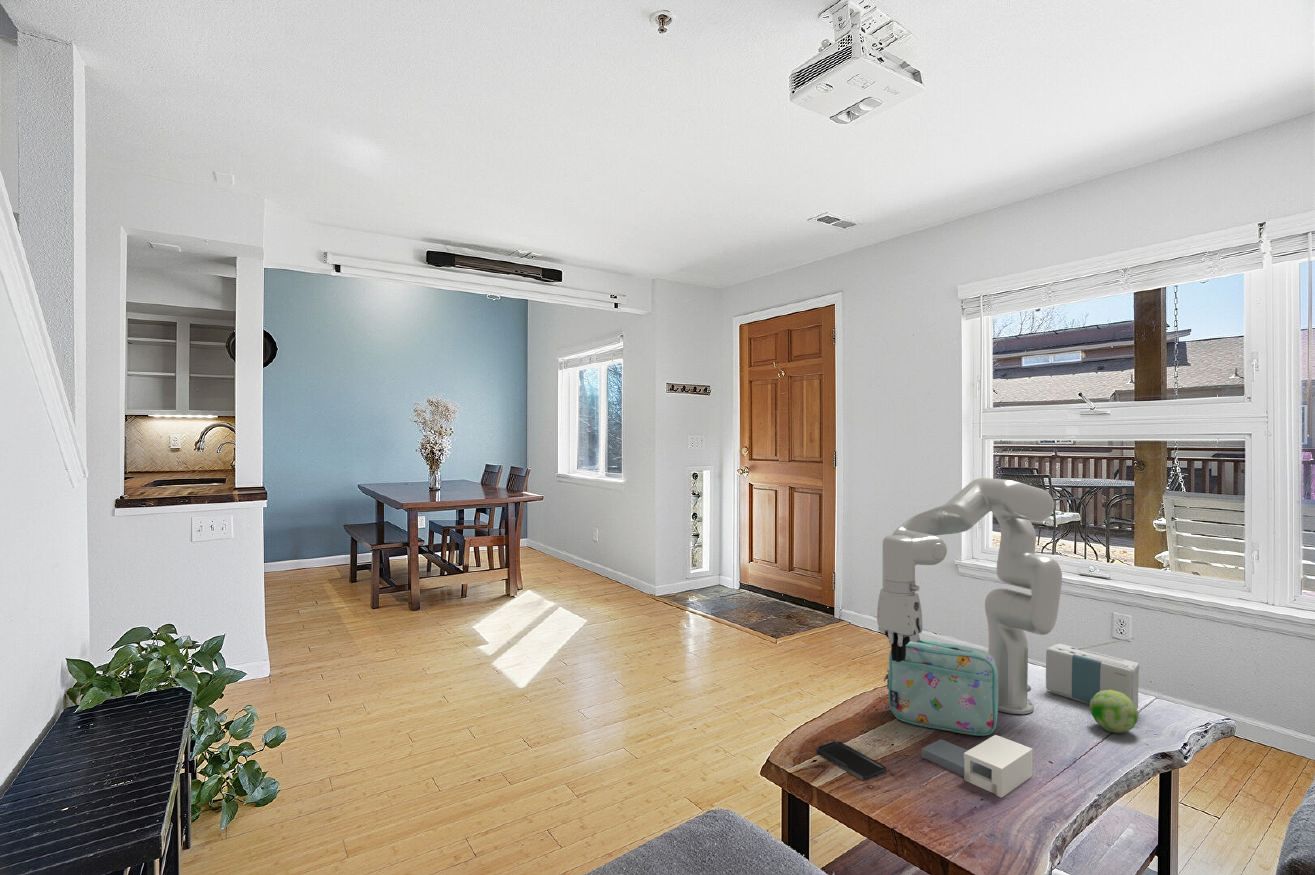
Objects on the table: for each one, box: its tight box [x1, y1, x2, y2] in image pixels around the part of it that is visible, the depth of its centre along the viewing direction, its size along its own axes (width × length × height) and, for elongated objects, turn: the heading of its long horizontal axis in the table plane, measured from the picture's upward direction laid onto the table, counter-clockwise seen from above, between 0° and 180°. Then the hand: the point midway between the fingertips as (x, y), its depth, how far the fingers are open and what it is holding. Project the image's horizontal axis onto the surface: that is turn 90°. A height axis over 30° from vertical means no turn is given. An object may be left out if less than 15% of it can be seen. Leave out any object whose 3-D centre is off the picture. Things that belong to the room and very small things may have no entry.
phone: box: [815, 740, 888, 782], centre depth 146 cm, size 8×1×15 cm
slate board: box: [921, 738, 992, 780], centre depth 144 cm, size 8×16×2 cm, turn 35°
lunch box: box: [883, 637, 999, 737], centre depth 165 cm, size 27×10×21 cm, turn 62°
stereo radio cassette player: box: [1045, 636, 1140, 709], centre depth 179 cm, size 21×8×20 cm, turn 36°
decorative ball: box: [1089, 690, 1139, 734], centre depth 162 cm, size 10×10×10 cm
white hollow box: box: [963, 734, 1034, 799], centre depth 140 cm, size 14×8×6 cm, turn 127°
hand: (898, 660), depth 159 cm, fingers closed
